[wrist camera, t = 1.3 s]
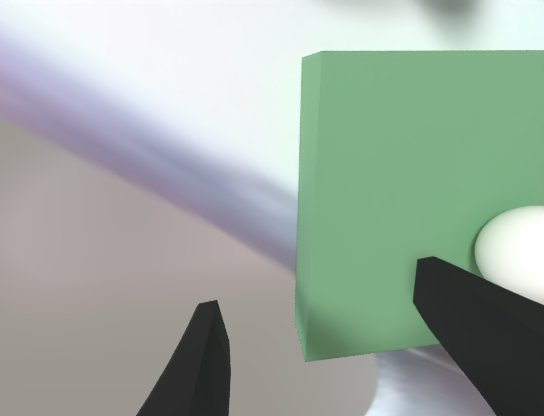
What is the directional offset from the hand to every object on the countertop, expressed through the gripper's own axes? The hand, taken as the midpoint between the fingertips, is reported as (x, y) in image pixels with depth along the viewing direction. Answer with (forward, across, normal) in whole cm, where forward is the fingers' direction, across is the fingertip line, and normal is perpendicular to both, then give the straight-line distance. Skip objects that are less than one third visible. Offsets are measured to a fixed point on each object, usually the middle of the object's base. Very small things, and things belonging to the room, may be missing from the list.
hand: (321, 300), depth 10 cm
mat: (+6, -12, +2) cm, 14 cm away
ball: (+1, -10, +1) cm, 10 cm away
